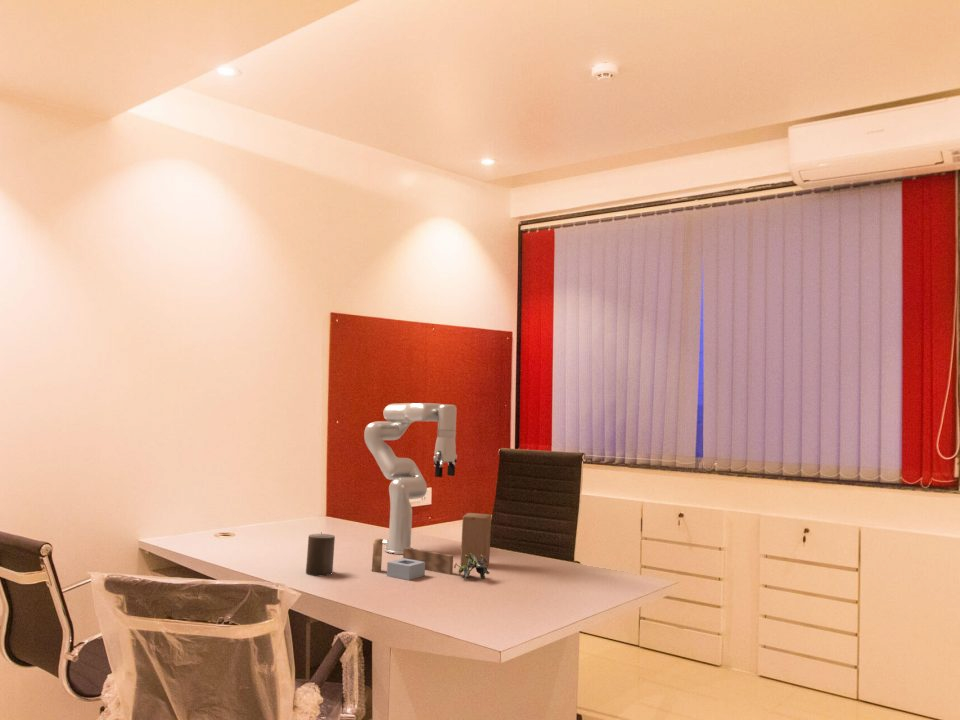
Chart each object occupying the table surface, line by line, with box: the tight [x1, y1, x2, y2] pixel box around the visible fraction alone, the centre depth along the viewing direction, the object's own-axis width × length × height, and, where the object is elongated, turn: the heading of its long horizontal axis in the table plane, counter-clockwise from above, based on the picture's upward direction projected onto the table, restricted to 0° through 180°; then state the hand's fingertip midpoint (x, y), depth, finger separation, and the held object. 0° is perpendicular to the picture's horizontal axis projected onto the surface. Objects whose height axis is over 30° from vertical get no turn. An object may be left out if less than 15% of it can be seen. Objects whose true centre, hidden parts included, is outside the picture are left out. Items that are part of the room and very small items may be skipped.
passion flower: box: [453, 553, 490, 580], centre depth 286 cm, size 11×11×12 cm
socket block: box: [386, 557, 426, 581], centre depth 285 cm, size 10×10×5 cm
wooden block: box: [459, 512, 492, 568], centre depth 311 cm, size 10×10×20 cm
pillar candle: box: [305, 532, 336, 576], centre depth 285 cm, size 10×10×15 cm
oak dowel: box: [371, 538, 384, 573], centre depth 291 cm, size 4×4×12 cm
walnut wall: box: [402, 547, 454, 575], centre depth 297 cm, size 22×2×7 cm, turn 59°
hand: (444, 476), depth 315 cm, fingers open, 9 cm apart
